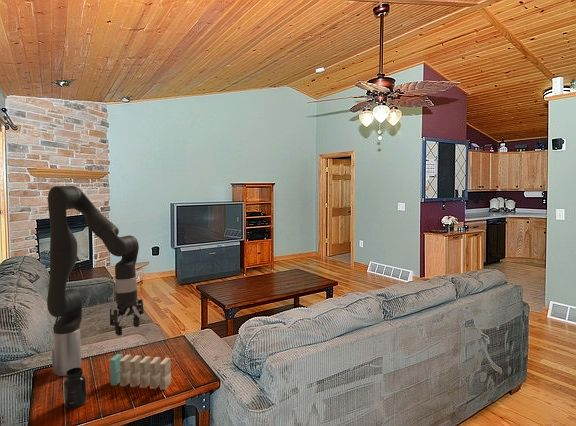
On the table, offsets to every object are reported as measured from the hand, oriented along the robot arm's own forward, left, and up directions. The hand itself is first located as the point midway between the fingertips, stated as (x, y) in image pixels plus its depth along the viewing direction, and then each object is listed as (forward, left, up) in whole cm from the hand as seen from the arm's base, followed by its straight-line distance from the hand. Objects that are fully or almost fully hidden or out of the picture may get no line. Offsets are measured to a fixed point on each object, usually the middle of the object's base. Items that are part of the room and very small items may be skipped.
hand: (128, 330), depth 142 cm
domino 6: (+15, 0, -21) cm, 26 cm away
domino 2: (-1, 0, -21) cm, 21 cm away
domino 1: (-5, 0, -21) cm, 22 cm away
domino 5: (+11, 0, -21) cm, 23 cm away
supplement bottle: (-11, -15, -21) cm, 28 cm away
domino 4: (+7, 0, -21) cm, 22 cm away
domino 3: (+3, 0, -21) cm, 21 cm away
